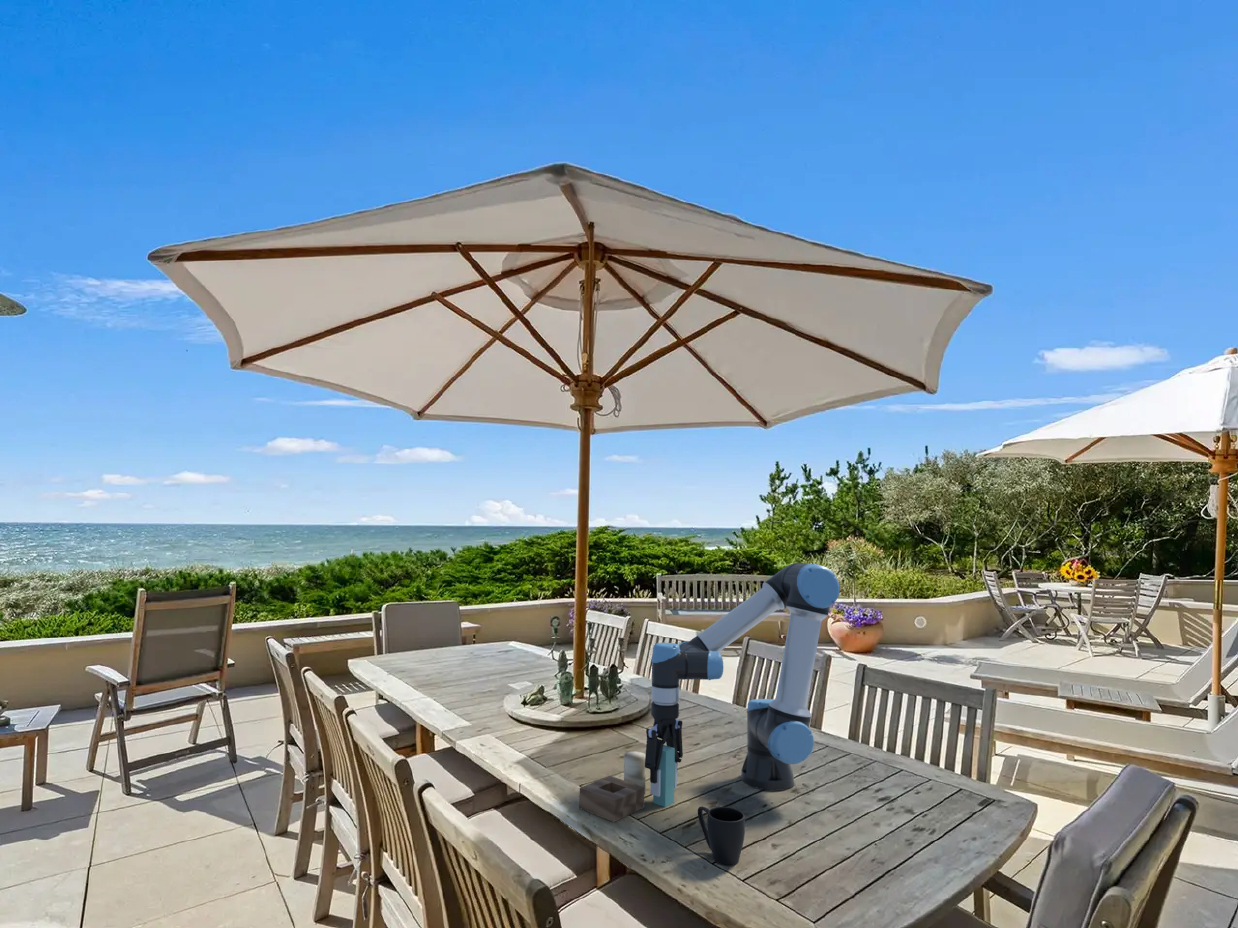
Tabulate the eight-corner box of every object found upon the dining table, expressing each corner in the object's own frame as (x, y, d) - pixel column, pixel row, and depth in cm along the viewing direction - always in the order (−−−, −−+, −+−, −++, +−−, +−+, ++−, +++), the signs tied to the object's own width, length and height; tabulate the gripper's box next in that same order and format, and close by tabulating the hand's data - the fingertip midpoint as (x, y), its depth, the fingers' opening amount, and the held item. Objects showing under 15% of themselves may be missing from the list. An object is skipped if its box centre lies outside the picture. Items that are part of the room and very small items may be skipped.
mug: (711, 840, 149) (712, 797, 150) (752, 861, 140) (752, 815, 141) (687, 850, 144) (687, 806, 145) (727, 872, 135) (728, 825, 136)
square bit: (662, 798, 173) (662, 744, 175) (674, 802, 170) (674, 747, 172) (653, 802, 170) (654, 747, 172) (665, 807, 167) (666, 751, 169)
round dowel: (632, 786, 181) (633, 749, 182) (649, 792, 177) (650, 754, 178) (619, 792, 176) (620, 754, 177) (636, 798, 172) (636, 760, 174)
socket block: (609, 794, 175) (609, 775, 175) (643, 807, 167) (644, 787, 168) (579, 807, 166) (579, 787, 166) (614, 821, 158) (614, 800, 158)
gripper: (674, 693, 183) (673, 777, 180) (631, 705, 168) (629, 797, 165) (696, 698, 178) (695, 784, 176) (654, 711, 163) (652, 805, 161)
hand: (663, 790), depth 171 cm, fingers open, 7 cm apart
